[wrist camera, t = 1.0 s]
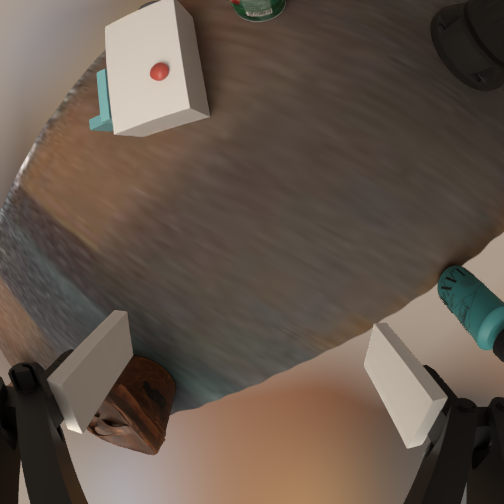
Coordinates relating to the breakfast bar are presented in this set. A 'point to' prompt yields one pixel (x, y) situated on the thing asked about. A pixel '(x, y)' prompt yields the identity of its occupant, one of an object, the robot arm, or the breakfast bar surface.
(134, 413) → the brown tapered cylinder
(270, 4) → the canned tomato
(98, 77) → the door
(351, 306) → the breakfast bar surface
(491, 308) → the beverage bottle
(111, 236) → the breakfast bar surface
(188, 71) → the block
